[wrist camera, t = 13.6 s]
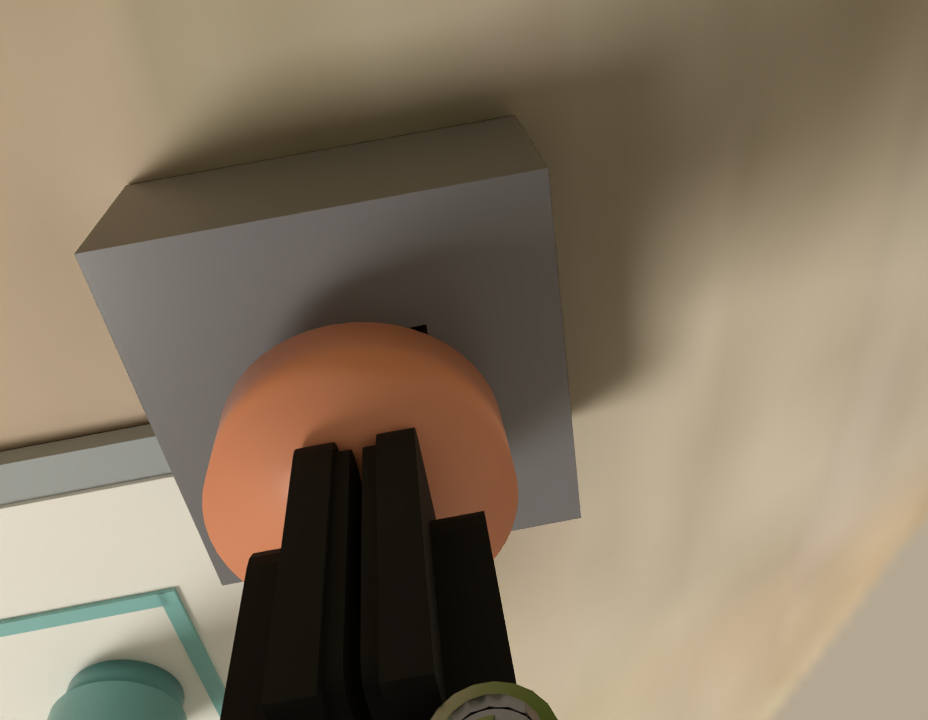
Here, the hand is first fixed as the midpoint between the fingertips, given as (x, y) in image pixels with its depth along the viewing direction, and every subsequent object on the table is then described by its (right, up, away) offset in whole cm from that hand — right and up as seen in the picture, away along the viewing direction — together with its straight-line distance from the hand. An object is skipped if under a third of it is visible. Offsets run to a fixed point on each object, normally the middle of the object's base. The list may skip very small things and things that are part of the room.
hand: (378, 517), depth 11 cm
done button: (-1, +2, +4) cm, 5 cm away
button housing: (-1, +3, +5) cm, 6 cm away
